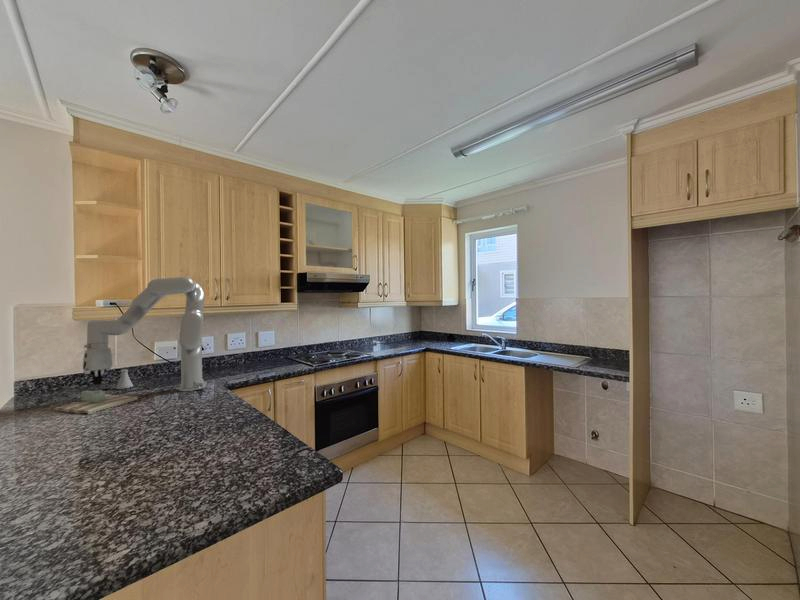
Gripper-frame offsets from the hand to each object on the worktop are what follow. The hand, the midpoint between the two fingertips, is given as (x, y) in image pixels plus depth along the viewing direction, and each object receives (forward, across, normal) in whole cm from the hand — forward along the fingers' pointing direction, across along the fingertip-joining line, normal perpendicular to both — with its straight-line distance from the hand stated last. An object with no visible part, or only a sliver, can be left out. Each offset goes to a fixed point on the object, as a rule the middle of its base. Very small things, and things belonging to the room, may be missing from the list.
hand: (97, 384), depth 156 cm
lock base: (+8, -5, -9) cm, 13 cm away
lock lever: (+6, -5, -5) cm, 9 cm away
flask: (+8, +21, +12) cm, 26 cm away
